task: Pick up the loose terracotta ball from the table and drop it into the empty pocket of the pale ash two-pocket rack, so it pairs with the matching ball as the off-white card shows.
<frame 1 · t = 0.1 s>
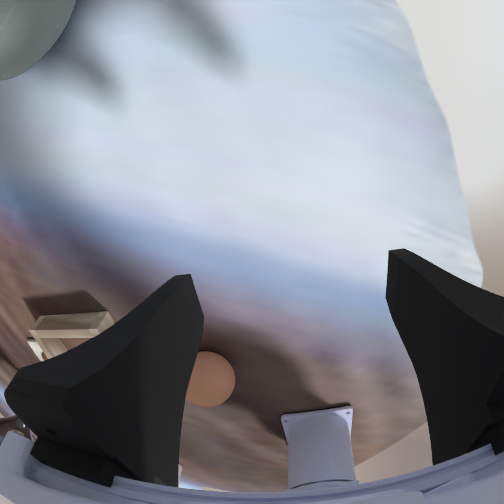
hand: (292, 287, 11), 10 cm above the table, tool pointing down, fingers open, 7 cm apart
loose ball: (206, 379, 25), point 2 cm above the table
rack: (111, 378, 30), on the table
wine glass: (41, 387, 35), on the table
air freshener: (41, 15, 14), on the table
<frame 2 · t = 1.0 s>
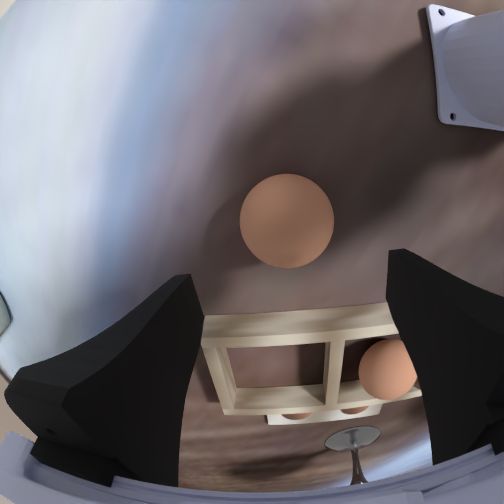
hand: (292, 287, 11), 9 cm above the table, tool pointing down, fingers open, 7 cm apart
loose ball: (287, 220, 16), point 2 cm above the table
rack: (330, 354, 24), on the table
wine glass: (352, 438, 32), on the table
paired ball: (388, 369, 21), point 2 cm above the table
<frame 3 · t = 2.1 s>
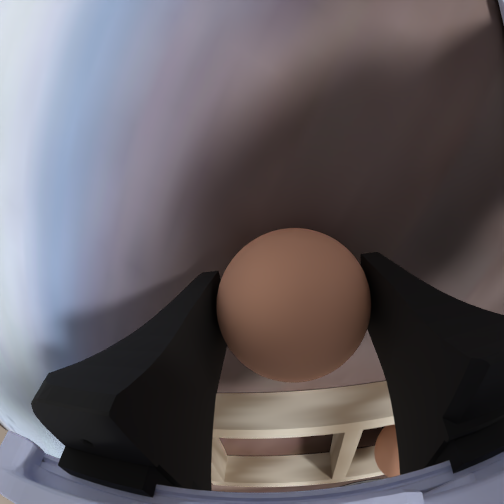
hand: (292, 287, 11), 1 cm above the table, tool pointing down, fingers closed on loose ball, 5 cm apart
loose ball: (294, 305, 10), point 2 cm above the table, touching gripper
rack: (341, 428, 18), on the table
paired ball: (410, 446, 15), point 2 cm above the table
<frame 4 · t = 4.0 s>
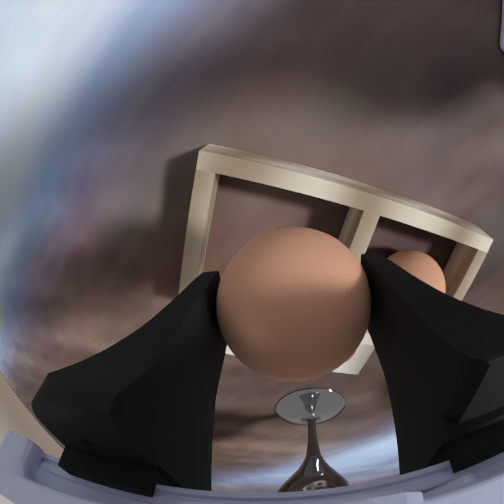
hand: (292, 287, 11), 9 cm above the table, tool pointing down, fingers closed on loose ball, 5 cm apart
loose ball: (294, 304, 10), point 10 cm above the table, touching gripper
rack: (339, 255, 20), on the table
wine glass: (310, 406, 28), on the table
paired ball: (408, 289, 18), point 2 cm above the table
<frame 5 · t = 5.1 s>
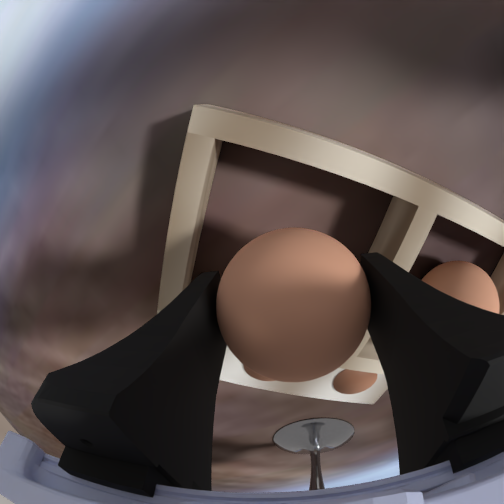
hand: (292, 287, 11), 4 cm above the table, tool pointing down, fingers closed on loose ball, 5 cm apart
loose ball: (294, 305, 10), point 5 cm above the table, touching gripper
rack: (372, 264, 15), on the table
wine glass: (314, 436, 23), on the table
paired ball: (455, 310, 13), point 2 cm above the table
when the fingers open (4 cm above the table, at t = 6.0 s): loose ball drops 3 cm, point 2 cm above the table.
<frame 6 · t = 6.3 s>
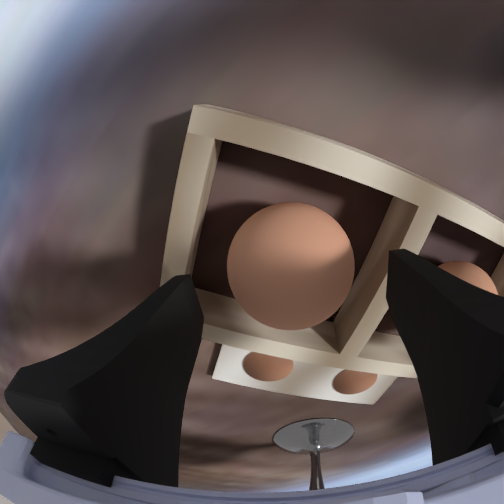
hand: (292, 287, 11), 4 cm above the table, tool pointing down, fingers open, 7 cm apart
loose ball: (290, 266, 12), point 2 cm above the table
rack: (372, 264, 15), on the table
wine glass: (313, 436, 23), on the table
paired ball: (455, 310, 13), point 2 cm above the table
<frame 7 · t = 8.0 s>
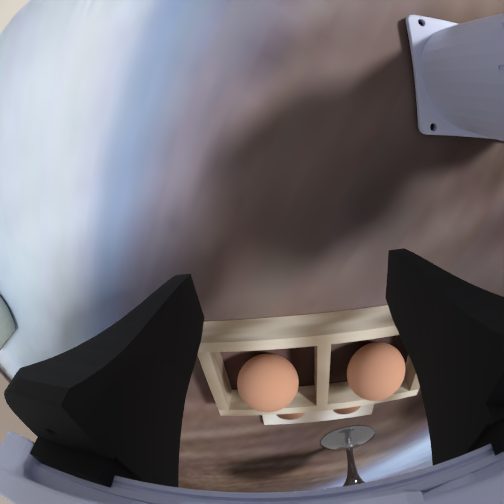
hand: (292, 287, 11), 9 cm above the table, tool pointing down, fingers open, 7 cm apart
loose ball: (267, 383, 24), point 2 cm above the table
rack: (320, 357, 25), on the table
wine glass: (347, 437, 33), on the table
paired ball: (376, 371, 23), point 2 cm above the table
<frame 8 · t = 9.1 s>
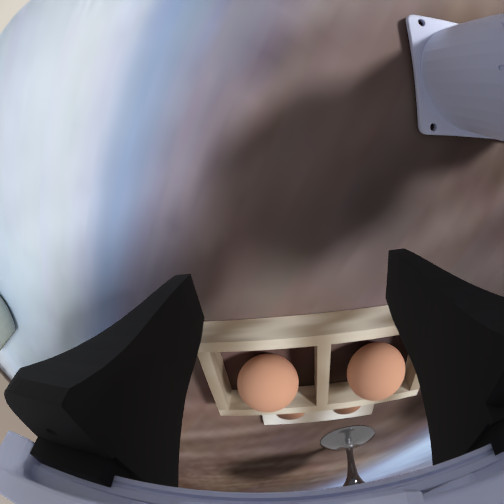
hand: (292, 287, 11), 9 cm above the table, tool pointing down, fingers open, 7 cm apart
loose ball: (267, 383, 24), point 2 cm above the table
rack: (320, 357, 25), on the table
wine glass: (347, 437, 33), on the table
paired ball: (376, 371, 23), point 2 cm above the table
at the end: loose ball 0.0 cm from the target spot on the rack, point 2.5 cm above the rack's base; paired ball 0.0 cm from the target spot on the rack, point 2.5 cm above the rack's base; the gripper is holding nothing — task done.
